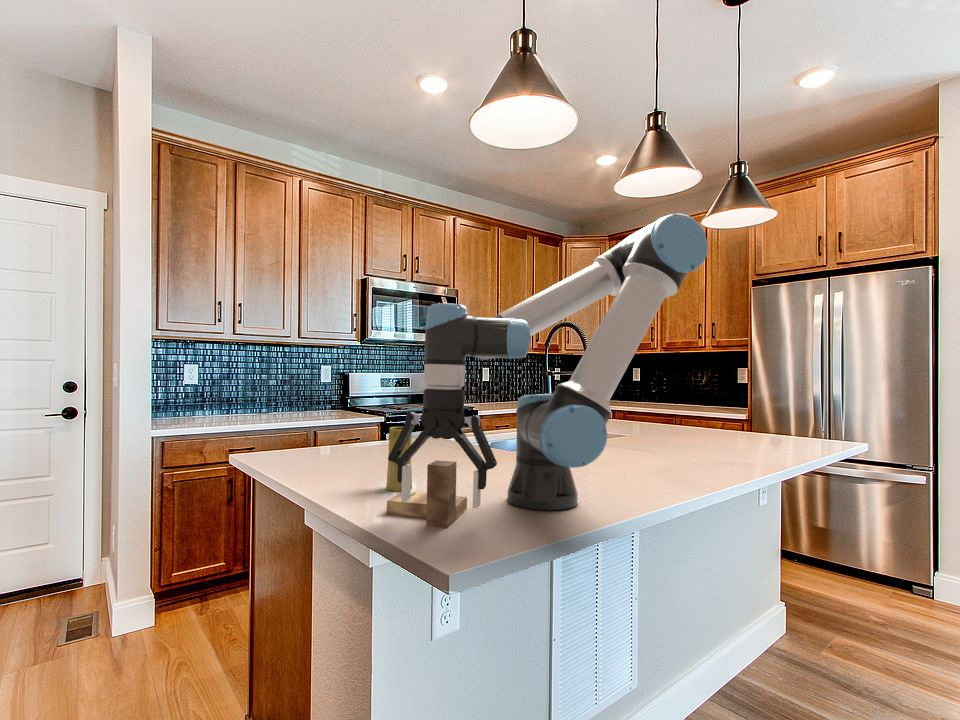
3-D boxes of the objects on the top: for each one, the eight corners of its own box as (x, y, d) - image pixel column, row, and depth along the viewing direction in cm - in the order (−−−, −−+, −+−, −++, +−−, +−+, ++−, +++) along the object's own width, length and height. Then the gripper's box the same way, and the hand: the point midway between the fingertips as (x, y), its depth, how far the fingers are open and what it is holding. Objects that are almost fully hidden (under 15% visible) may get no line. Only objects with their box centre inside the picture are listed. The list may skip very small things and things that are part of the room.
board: (466, 509, 107) (467, 496, 107) (455, 519, 99) (456, 506, 99) (402, 503, 110) (402, 491, 110) (386, 513, 102) (386, 500, 102)
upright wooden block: (462, 513, 103) (463, 457, 104) (447, 528, 94) (448, 466, 94) (442, 512, 104) (444, 456, 104) (426, 526, 95) (427, 464, 95)
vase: (405, 492, 120) (407, 429, 120) (381, 490, 122) (382, 428, 122) (416, 486, 126) (417, 427, 126) (392, 484, 128) (394, 426, 128)
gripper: (514, 389, 98) (510, 504, 97) (389, 385, 104) (385, 493, 103) (506, 391, 90) (503, 515, 90) (372, 385, 96) (368, 502, 96)
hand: (440, 503), depth 97 cm, fingers open, 13 cm apart
